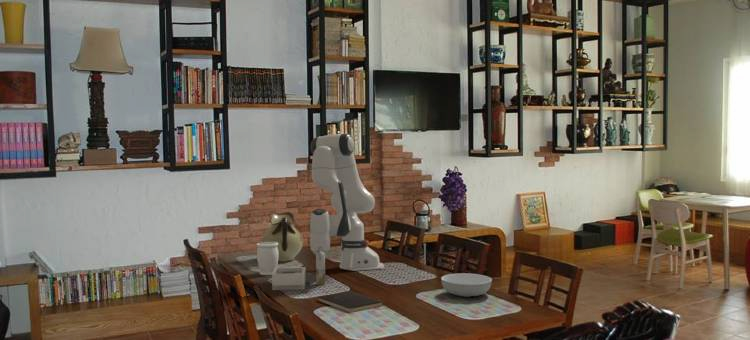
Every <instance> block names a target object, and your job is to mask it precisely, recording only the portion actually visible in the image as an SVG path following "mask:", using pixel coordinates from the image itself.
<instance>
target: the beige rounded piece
mask: <svg viewBox="0 0 750 340" xmlns="http://www.w3.org/2000/svg"><path fill="white" fill-rule="evenodd" d="M269 222H270V226H269V228H268V229H267V230H266V232H265V233H264V234H263V235H262V238H261V242H277V243H278V246H277V248H278V254H279V257H278V263H279V262H290V261H293V260H295V258H296V256H297V255H298V254H299V253H300V252H301V250H302V248H303V244H304V238H303V236H302V235H303V234H302V233H301V232H300V231H299V230H298V229H297V228H296V227H295V225H294V223H295V215H293V213H292V212H291V211H285V212H282V213H277V212H271V213H270V214H269ZM261 242H260V243H261Z"/></svg>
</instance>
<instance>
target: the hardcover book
mask: <svg viewBox="0 0 750 340" xmlns="http://www.w3.org/2000/svg"><path fill="white" fill-rule="evenodd" d="M317 298H318V302H321V303H323V304H327V305H329V306H332V307H335V308H336V309H340V310H343V311H345V312H348V313H353V312H359V311H363V310H364V311H365V310H367V309H372V308H378V307H382V306H384V302H383V301H381V300H379V299H375V298H372V297H370V296H369V297H368V296H366V295H363V294H359V293H357V292H353V291H351V290H346V291H340V292H334V293H330V294H324V295H319V296H317Z"/></svg>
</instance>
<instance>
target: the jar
mask: <svg viewBox="0 0 750 340" xmlns="http://www.w3.org/2000/svg"><path fill="white" fill-rule="evenodd" d="M256 246H257V251H256V258H257V259H256V260H257V265H258V268H259V275H261V276H272V273H273V271H274V268H278V263H279V261H278V257H279V254H278V248H277V246H278V243H277V242H258V243H256Z"/></svg>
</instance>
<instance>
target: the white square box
mask: <svg viewBox="0 0 750 340" xmlns="http://www.w3.org/2000/svg"><path fill="white" fill-rule="evenodd" d="M306 269H307V268H306V266H297V267H295V266H292V267H288V266H287V267H277V268H274V271H273V273H272V275H271V290H272V291H288V290H289V291H291V290H294V291H295V290H305V288H306V281H307V280H306V279H307V276H306V275H307V274H306V273H307V272H306Z"/></svg>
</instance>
